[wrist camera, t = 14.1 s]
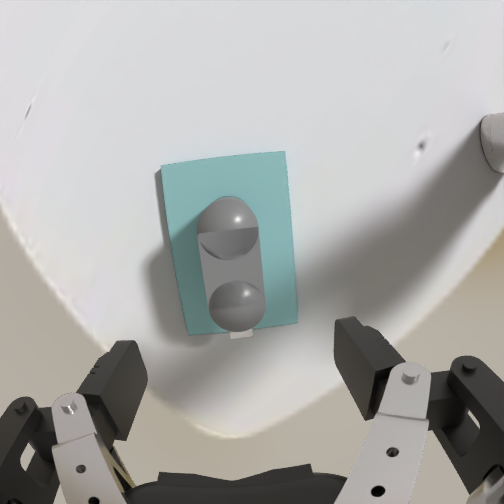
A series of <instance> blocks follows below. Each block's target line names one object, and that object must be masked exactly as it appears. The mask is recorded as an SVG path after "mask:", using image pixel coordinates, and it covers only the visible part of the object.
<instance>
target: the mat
mask: <svg viewBox="0 0 504 504" xmlns="http://www.w3.org/2000/svg"><path fill="white" fill-rule="evenodd" d="M161 175H162V184H163V192H164V201H165V208H166V216H167V223H168V230H169V236H170V243H171V249H172V255H173V261H174V267H175V272H176V278H177V283H178V288H179V293H180V299H181V303H182V308H183V313H184V318H185V322H186V327H187V331H188V335H200V334H212V333H222V332H230V331H227V330H224V329H222V328H221V327H219V326H218V325H217V324H216V323H215V322H214V321H213V320H212V318H211V316H210V313H209V309H208V303H207V297H206V291H205V284H204V278H203V272H202V265H201V258H200V251H199V244H198V237H197V223H198V220H199V217H200V215H201V214H202V212H203V211H204V210H205V208H206V207H208V206H209V205H210V204H211V203H212V202H214V201H215V200H216V199H218V198H220V197H223V196H235V197H238V198H240V199H242V200H243V201H244V202H245V203H246V204H247V205H248V206H249V208H250V209H251V210H252V211H253V213H254V214H255V216H256V219H257V222H258V227H259V238H260V248H261V259H262V270H263V281H264V292H265V303H266V309H265V313H264V316H263V318H262V320H261V321H260V322H259V323H258V324H257V325H256V326H255V327H253V328H252V329H258V328H266V327H274V326H281V325H288V324H295V323H297V302H296V282H295V265H294V249H293V235H292V222H291V209H290V198H289V186H288V176H287V166H286V156H285V151H280V152H266V153H254V154H243V155H233V156H224V157H216V158H208V159H201V160H194V161H187V162H180V163H174V164H168V165H162V166H161Z"/></svg>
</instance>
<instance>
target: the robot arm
mask: <svg viewBox="0 0 504 504" xmlns="http://www.w3.org/2000/svg"><path fill="white" fill-rule="evenodd" d="M481 142H482V147H483V151H484V154H485V157H486V159H487V161H488V163H489V165H490V166H491V168H492V169H494V170H495V171H496V172H501V173H504V113H497V114H491V115H487V116H485V117H484V118H483V120H482V123H481ZM334 360H335V364H336V367H337V368H338V370H339V372H340V374H341V376H342V378H343V380H344V382H345V384H346V385H347V387H348V389H349V391H350V393H351V395H352V397H353V398H354V401H355V402H356V404H357V406H358V408H359V410H360V412H361V414H362V416H363V418H364V420H365V421H367V420H370V419H373V418H374V420H373V422H372V425H371V428H370V430H369V433H368V435H367V437H366V440H365V442H364V445H363V447H362V449H361V452H360V454H359V456H358V458H357V460H356V462H355V465H354V467H353V469H352V471H351V473H350V475H349V477H348V478H346V477H343V476H339V475H335V474H328V473H313V472H312V469H311V464H306V465H300V466H295V467H288V468H281V469H274V470H270V471H267V472H264V473H261V474H257V475H254V476H250V477H247V478H243V479H240V480H235V481H229V480H222V479H217V478H212V477H207V476H202V475H197V474H185V473H167V472H159V476H158V481H155V482H150V483H145V484H142V485H139V486H136V485H135V483H134V482H133V480H132V478H131V477H130V475H129V473H128V471H127V470H126V468H125V466H124V464H123V462H122V461H121V459H120V456H119V455H118V453H117V451H116V449H115V447H114V446H113V442H114V440H122V441H126V440H127V437H128V435H129V431H130V429H131V426H132V423H133V421H134V418H135V415H136V412H137V409H138V407H139V404H140V401H141V399H142V396H143V394H144V391H145V388H146V386H147V381H148V377H147V371H146V368H145V365H144V363H143V360H142V357H141V354H140V351H139V348H138V345H137V343H136V342H135V341H134V340H123V341H116V343H115V344H114V346H113V347H112V348H111V350H110V351H109V352H107V353H105V354H104V355H103V356H102V357H100V358H99V359H98V360H97V362H96V363H95V365H94V368H92V369H91V371H90V374H88V375H87V377H86V378H85V380H84V381H83V383H82V384H81V386H80V388H79V389H78V390H77V392H76V393H68V394H65V395H62V396H60V397H59V398H58V399H56V400H55V402H54V403H53V405H52V407H46V408H38V406H37V404H36V403H35V401H34V400H33V399H32V398H30V397H20V398H18V399H16V400H14V401H13V402H12V403H11V404H10V405H9V407H8V408H7V409H6V411H5V412H4V414H3V415H2V416H1V418H0V504H53V502H54V499H55V496H56V493H57V490H58V488H59V485H60V484H61V488H62V491H63V494H64V497H65V500H66V503H67V504H409V501H410V498H411V495H412V492H413V489H414V485H415V482H416V479H417V475H418V472H419V467H420V464H421V459H422V455H423V451H424V446H425V442H426V436H427V431H429V430H433V432H434V434H435V435H436V437H437V439H438V440H439V442H440V443H441V445H442V447H443V449H444V450H445V452H446V454H447V455H448V457H449V459H450V460H451V462H452V464H453V465H454V467H455V469H456V471H457V473H458V474H459V476H460V478H461V480H462V482H463V483H464V485H465V487H466V489H467V491H468V493H469V495H470V496H469V498H468V500H467V503H466V504H504V382H503V381H502V380H501V379H500V378H499V377H498V376H497V375H496V374H495V373H494V372H493V371H492V370H491V369H490V368H489V367H488V366H487V365H486V364H485V363H484V362H482V361H481V360H480V359H478V358H476V357H473V356H460V357H458V358H456V359H455V360H454V361H453V362H452V365H451V368H450V370H449V371H442V372H434V373H430V371H429V370H428V369H427V368H426V367H425V366H423V365H421V364H419V363H414V362H406V361H405V360H404V359H403V358H402V357H401V355H400V354H399V353H398V352H397V351H396V350H395V349H394V348H393V347H392V345H391V344H390V345H389V342H388V341H387V340H386V339H384V337H383V336H382V334H381V333H380V332H379V331H378V330H376V329H374V328H372V327H370V326H364V327H363V325H362V324H361V323H360V322H359V321H358V320H357V318H356V317H354V316H353V317H348V318H342V319H337V320H336V321H335V332H334ZM469 410H470V411H471V412H472V414H473V415H474V416H475V418H476V419H477V420H478V422H479V424H480V429H479V428H478V427H477V425H476V424H475V423H474V421H473V420H472V419H471V417H470V416H469V415H468V411H469ZM28 443H29V444H30V445H31V446H32V448H33V449H34V450H35V453H34V455H33V457H32V459H31V462H30V464H29V466H28V468H27V470H26V471H25V470H24V469H23V468H22V467H21V464H20V458H21V455H22V453H23V451H24V449H25V447H26V446H27V444H28Z"/></svg>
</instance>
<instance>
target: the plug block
mask: <svg viewBox="0 0 504 504" xmlns="http://www.w3.org/2000/svg"><path fill="white" fill-rule="evenodd" d="M197 237H198V244H199V251H200V258H201V265H202V272H203V278H204V284H205V291H206V297H207V303H208V309H209V313H210V316H211V318H212V320H213V321H214V322H215V323H216V324H217V325H218V326H219V327H221V328H222V329H224V330H227V331H230V338H231V339H235V338H244V337H253V331H252V328H253V327H255V326H256V325H257V324H258V323H259V322H260V321H261V320H262V318H263V316H264V313H265V309H266V303H265V292H264V281H263V270H262V259H261V248H260V238H259V227H258V222H257V219H256V216H255V214H254V213H253V211H252V210H251V209H250V208H249V206H248V205H247V204H246V203H245V202H244V201H243V200H242V199H240V198H238V197H235V196H223V197H220V198H218V199H216V200H215V201H214V202H212V203H211V204H210V205H209V206H208V207H206V208H205V210H204V211H203V212H202V214H201V215H200V217H199V220H198V223H197Z"/></svg>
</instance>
